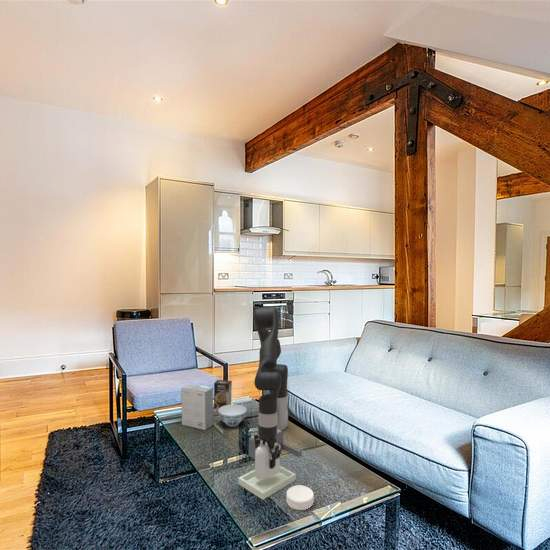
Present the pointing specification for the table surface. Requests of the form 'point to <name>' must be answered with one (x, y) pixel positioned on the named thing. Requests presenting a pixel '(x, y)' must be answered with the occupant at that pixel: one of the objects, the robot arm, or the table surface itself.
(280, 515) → the table surface
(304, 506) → the white round puck
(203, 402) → the hard drive box
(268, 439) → the robot arm
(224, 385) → the coffee box
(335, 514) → the table surface
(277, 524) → the table surface
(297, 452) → the dock
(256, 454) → the photo printer
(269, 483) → the tray
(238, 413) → the chinaware
